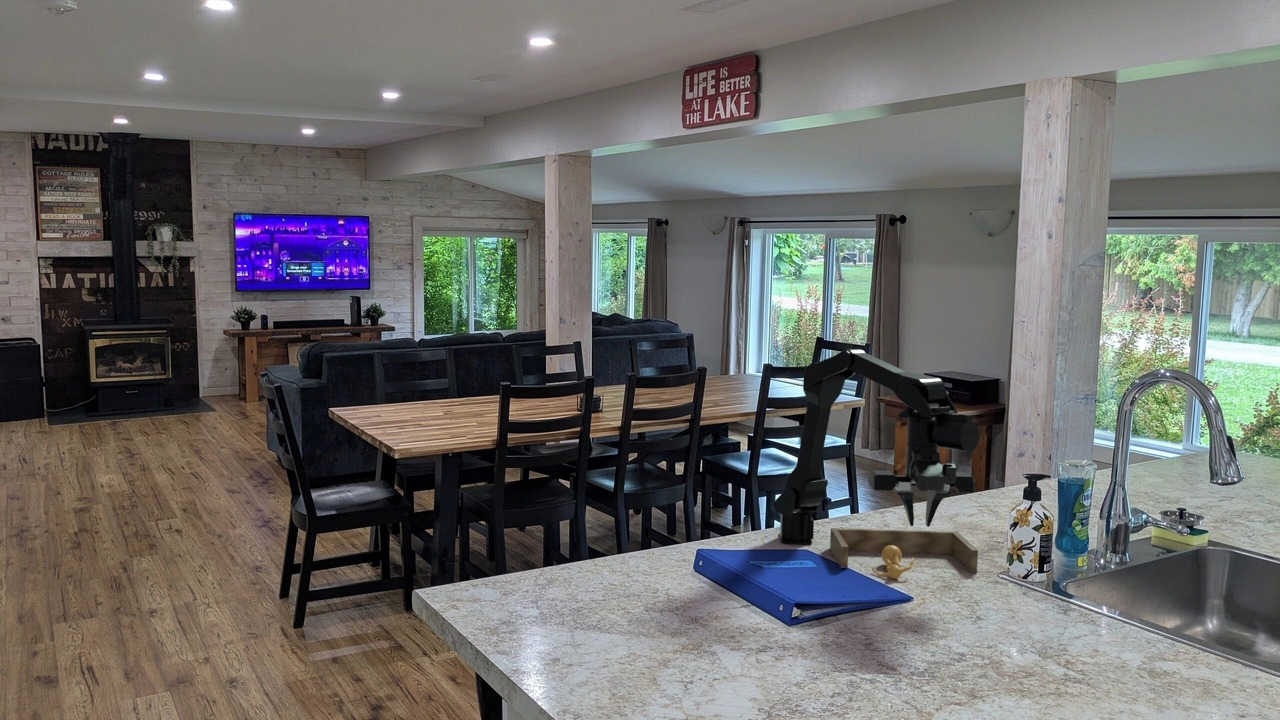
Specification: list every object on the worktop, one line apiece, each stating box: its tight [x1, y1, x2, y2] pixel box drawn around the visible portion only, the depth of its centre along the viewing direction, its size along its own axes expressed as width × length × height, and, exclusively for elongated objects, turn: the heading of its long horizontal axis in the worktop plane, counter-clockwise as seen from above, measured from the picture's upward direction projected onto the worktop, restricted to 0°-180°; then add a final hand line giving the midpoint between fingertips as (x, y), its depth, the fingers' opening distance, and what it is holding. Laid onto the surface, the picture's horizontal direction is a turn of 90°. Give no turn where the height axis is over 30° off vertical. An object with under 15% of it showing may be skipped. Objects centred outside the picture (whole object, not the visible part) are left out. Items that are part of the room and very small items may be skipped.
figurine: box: [871, 545, 915, 580], centre depth 189 cm, size 8×6×12 cm
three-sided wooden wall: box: [829, 527, 979, 574], centre depth 197 cm, size 26×14×4 cm, turn 88°
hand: (919, 526), depth 183 cm, fingers open, 3 cm apart
